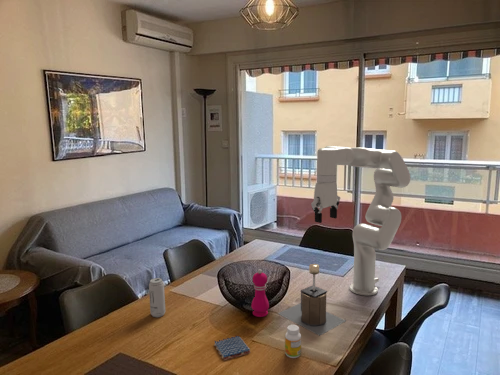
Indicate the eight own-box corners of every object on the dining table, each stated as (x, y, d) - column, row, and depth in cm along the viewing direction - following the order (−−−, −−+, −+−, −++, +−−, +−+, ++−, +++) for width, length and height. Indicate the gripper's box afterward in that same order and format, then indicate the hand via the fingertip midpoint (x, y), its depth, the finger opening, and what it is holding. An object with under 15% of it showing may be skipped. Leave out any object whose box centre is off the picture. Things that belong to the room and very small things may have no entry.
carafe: (309, 310, 160) (310, 282, 158) (331, 320, 152) (332, 291, 150) (293, 318, 154) (293, 289, 152) (314, 329, 146) (315, 298, 144)
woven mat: (223, 362, 129) (223, 357, 129) (213, 346, 139) (212, 341, 138) (252, 354, 134) (251, 349, 133) (239, 339, 143) (239, 334, 143)
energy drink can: (147, 314, 161) (145, 280, 158) (160, 309, 165) (158, 276, 163) (156, 319, 157) (154, 284, 154) (168, 314, 161) (166, 280, 159)
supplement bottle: (283, 349, 135) (283, 323, 134) (299, 348, 136) (299, 323, 134) (286, 359, 130) (286, 332, 128) (302, 358, 130) (302, 331, 129)
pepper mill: (267, 320, 155) (267, 273, 151) (249, 319, 156) (249, 272, 153) (270, 312, 162) (270, 266, 158) (253, 310, 163) (252, 265, 160)
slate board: (304, 303, 168) (304, 301, 168) (346, 323, 152) (346, 320, 152) (277, 316, 158) (277, 313, 158) (319, 338, 142) (319, 335, 141)
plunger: (312, 309, 157) (313, 260, 154) (326, 315, 152) (327, 265, 148) (300, 314, 153) (300, 265, 149) (314, 321, 147) (315, 270, 144)
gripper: (332, 175, 165) (331, 214, 168) (305, 180, 154) (304, 222, 157) (347, 177, 159) (346, 217, 162) (319, 182, 148) (319, 225, 151)
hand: (325, 220), depth 159 cm, fingers open, 9 cm apart
